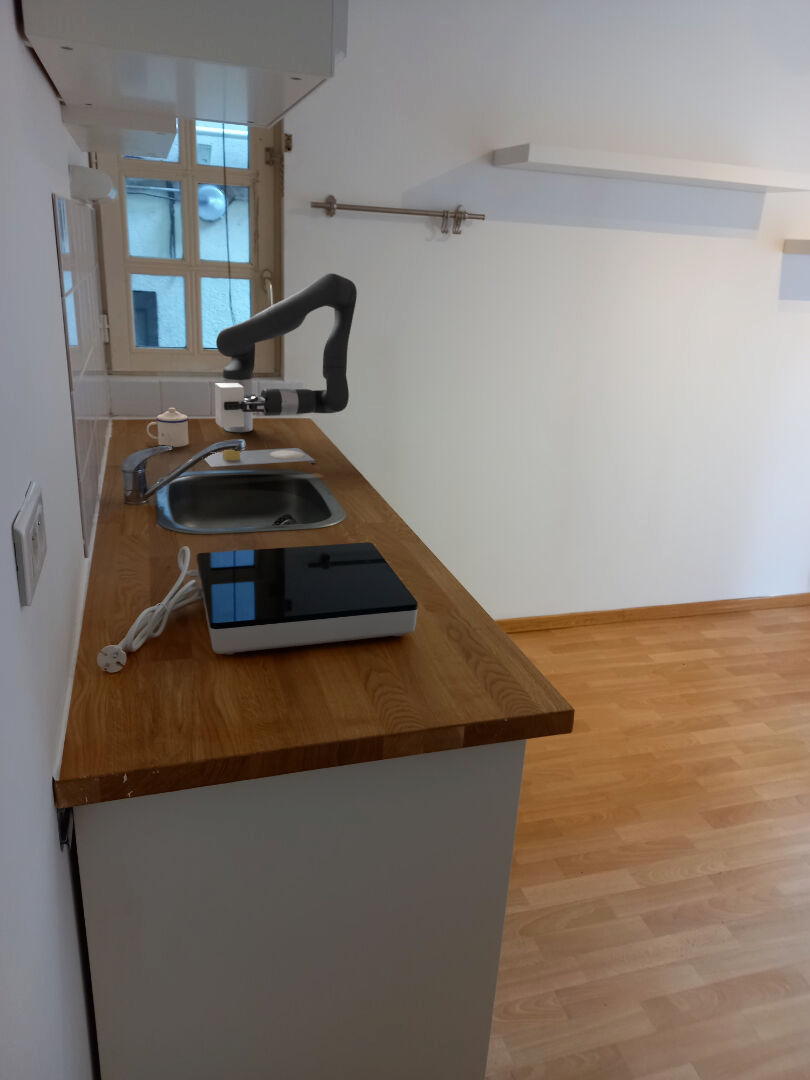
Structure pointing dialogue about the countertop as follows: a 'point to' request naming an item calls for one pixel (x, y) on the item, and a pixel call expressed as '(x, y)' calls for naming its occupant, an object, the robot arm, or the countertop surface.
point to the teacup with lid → (171, 428)
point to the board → (260, 457)
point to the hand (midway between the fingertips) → (221, 403)
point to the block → (231, 455)
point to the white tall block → (228, 394)
